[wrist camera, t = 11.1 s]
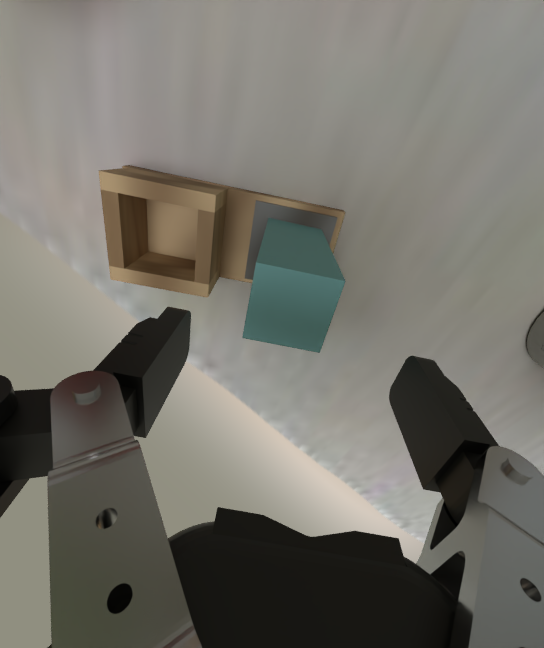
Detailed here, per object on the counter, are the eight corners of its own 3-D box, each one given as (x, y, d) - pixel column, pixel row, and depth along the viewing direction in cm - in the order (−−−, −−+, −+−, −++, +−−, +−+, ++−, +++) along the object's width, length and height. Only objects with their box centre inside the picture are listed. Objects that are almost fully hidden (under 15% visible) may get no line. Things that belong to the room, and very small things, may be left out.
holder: (342, 210, 22) (357, 224, 17) (319, 291, 25) (325, 319, 21) (129, 165, 21) (88, 168, 16) (134, 255, 24) (101, 277, 20)
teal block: (321, 229, 21) (345, 281, 13) (307, 279, 23) (319, 352, 15) (268, 217, 21) (255, 262, 12) (259, 268, 23) (242, 337, 14)
